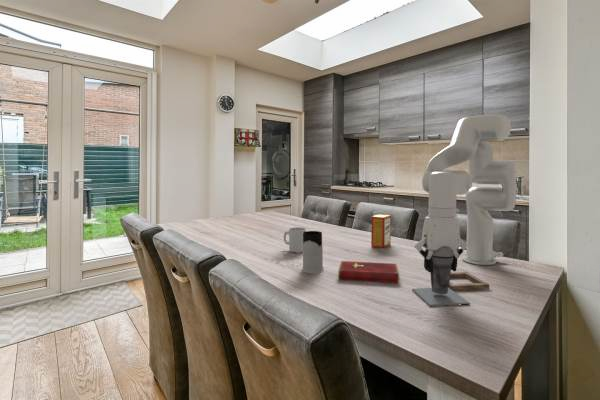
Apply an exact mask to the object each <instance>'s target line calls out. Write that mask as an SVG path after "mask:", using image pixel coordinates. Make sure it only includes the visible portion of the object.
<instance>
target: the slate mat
mask: <svg viewBox="0 0 600 400" xmlns="http://www.w3.org/2000/svg"><path fill="white" fill-rule="evenodd" d="M411 290H412V292H413V293H414V294H416V295H417V297H419V298H420V299H421V300H422V301H423V302H424V303H425V304H426V303H427V304H426V305H427V306H429V307H430V306H432V307H446V306H445V305H455V306H460V305H459V304H470V305H471V303H470V301H468V300H467V299H465V298H464V297H463V296H461V295H460V294H458V293H457V292H456V291H455V290H451V289H450V288H448V293H447V294H438V293H434V292H433V291H432V287H421V288H418V287H417V288H412V289H411Z"/></svg>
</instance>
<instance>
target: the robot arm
mask: <svg viewBox="0 0 600 400" xmlns="http://www.w3.org/2000/svg"><path fill="white" fill-rule="evenodd" d="M511 125H512V123H511V121H510V119H509V117H507V116H505V115H503V114H499V113H487V114H481V115H472V116H466V117H463V118H461V119H460V120H459V121H457V123H456V126H455V128H454V131H453V133H452V137H451V140H450V142H449V144H448V146H447V147H444V149H441V151H439V152H438V153H437V154H436V155H433V157H432V158H431V159H430V160H429V161H428V163H427V165H426V168H425V169H424V172H423V175H422V180H421V185H422V186H421V187H422V189H423V190H424V192H425V193H428V210H427V211H428V215H427V216H425V217H424V222H423V227H422V231H421V232H422V233H421V239H420V240H419V241H418V242H417V243H416V244H414V248H415V249H416V250H417V252H418V253H419V254H420V255H421V256H422V257H423V268H424V270H425V271H426V272H428V273H430V272H432V260H431V256H432V254H433V251H436V250H437V249H438V248H440V247H442V246H448V247H450V248H451V249H452V250H453V254H454V257H453V262H452V266H451V272H452V271H453V272H457V267H458V259H459V258H460V255H462V254H463V253H464V251H466V252H465V254H464V255H462V256H461V260H462V261H463V262H466V263H469V264H474V265H478V266H492V265H495V264H497V260H496V258H500V257H501V258H503V257H504V253H503V252H502V251H500V252H499V251H498V252H496V251H494V250H493V243H494V242H493V241H494V240H493V239H494V219H493V217H492V215H491V214H490V213H489V211H497V212H498V211H499V212H511V211H513V210H514V209H515V206H516V201H517V170H516V169H517V168H516V165H515V163H514V162H513V161H511V160H507V159H505V160H504V159H502V160H496V159H494V149H493V148H494V147H493V146H492V144H491V143H490V142H497V141H499V142H500V141H505V140H507V139H508V138H509V136H510V134H511V131H512V129H511V128H512V126H511ZM467 161H468V172H467V171H465V170H449V169H448V168H451V167H454V166H457V165H460V164H462V163H465V162H467ZM446 169H448V170H446ZM473 184H475V185H498V186H473ZM460 195H465V202H466V203H465V204H466V213H467V214H466V215H467V217H466V218H467V219H466V220H467V222H466V223H467V224H466V226H467V227H466V242H465V241H464V240H463V239H462V238H461V230H460V223H459V222H460V221H459V218H458V217H457V214H459V213H460V212H461V211H460V208H457V196H460ZM423 248H425V249H423Z"/></svg>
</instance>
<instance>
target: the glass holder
mask: <svg viewBox="0 0 600 400" xmlns="http://www.w3.org/2000/svg"><path fill="white" fill-rule="evenodd" d="M323 247H324V246H323V232H322V231H319V230H308V231H307V230H306V232H303V253H302V268H301V270H302V271H301V272H304V273H306V274H318V273H322V272H324V270H325V269H324V264H323V262H324V260H323V255H324V254H323V252H324V251H323Z"/></svg>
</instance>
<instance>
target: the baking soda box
mask: <svg viewBox="0 0 600 400" xmlns="http://www.w3.org/2000/svg"><path fill="white" fill-rule="evenodd" d="M391 223H392V215H391V214H380V213H378V214H374V215H373V216H371V239H370V240H371V242H370V243H371V246H370V247H371V248H377V249H385V248H386V249H387V248H388V247H389V246H391V242H392V241H391V238H392V237H391V235H392V232H391V230H392V226H391V225H392V224H391Z"/></svg>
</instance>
